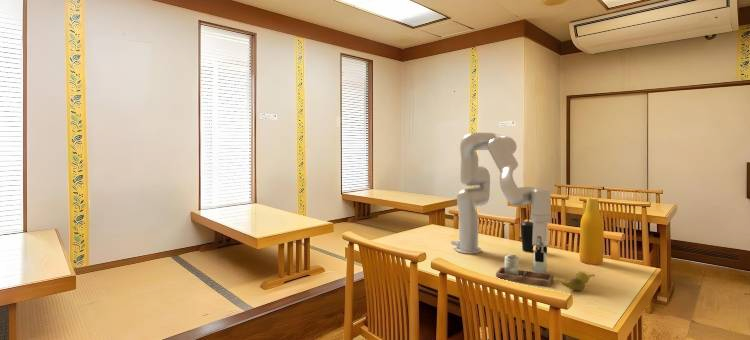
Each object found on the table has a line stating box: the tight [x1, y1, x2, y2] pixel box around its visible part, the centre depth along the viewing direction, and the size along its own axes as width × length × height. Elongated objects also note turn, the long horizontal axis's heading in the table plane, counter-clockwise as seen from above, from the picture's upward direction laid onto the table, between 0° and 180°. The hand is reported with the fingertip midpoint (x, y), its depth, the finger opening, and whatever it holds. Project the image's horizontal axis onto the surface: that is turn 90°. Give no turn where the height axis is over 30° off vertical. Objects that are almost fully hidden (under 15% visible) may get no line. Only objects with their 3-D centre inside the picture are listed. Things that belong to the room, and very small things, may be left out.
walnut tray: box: [495, 253, 554, 288], centre depth 154 cm, size 20×9×9 cm, turn 59°
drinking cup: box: [519, 210, 534, 253], centre depth 194 cm, size 8×8×20 cm
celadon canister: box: [532, 251, 548, 274], centre depth 162 cm, size 5×5×9 cm
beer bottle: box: [579, 197, 605, 266], centre depth 174 cm, size 9×9×29 cm
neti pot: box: [559, 271, 596, 291], centre depth 142 cm, size 4×15×6 cm, turn 104°
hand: (541, 258), depth 162 cm, fingers open, 9 cm apart
